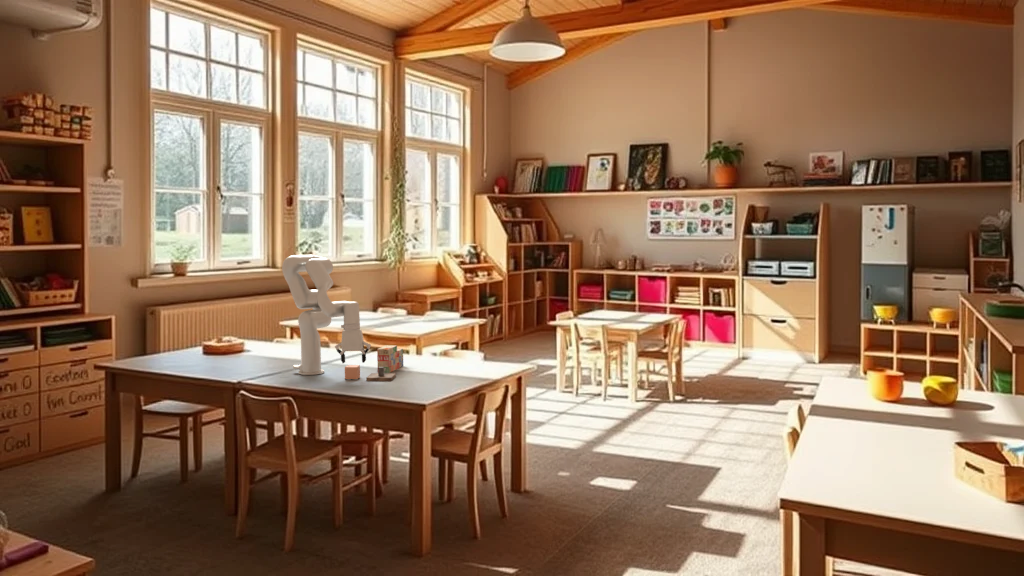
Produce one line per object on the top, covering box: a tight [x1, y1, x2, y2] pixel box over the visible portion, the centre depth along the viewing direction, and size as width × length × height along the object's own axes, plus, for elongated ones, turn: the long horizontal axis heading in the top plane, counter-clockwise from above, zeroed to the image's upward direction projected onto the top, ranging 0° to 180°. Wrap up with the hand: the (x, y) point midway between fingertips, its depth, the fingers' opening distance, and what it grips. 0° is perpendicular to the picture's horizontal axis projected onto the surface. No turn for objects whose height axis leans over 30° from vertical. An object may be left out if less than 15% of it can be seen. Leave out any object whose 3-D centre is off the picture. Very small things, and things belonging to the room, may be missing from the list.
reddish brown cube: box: [344, 364, 361, 380], centre depth 397 cm, size 6×6×6 cm
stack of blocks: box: [376, 344, 404, 373], centre depth 423 cm, size 21×6×12 cm, turn 168°
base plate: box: [365, 366, 397, 382], centre depth 397 cm, size 12×12×6 cm
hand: (353, 362), depth 396 cm, fingers open, 9 cm apart
